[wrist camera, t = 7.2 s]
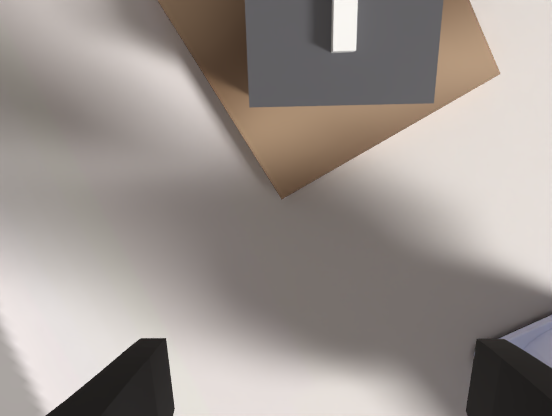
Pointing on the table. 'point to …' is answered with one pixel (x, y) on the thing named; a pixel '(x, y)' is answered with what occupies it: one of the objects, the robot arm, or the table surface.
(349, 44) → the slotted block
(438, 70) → the block
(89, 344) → the table surface
